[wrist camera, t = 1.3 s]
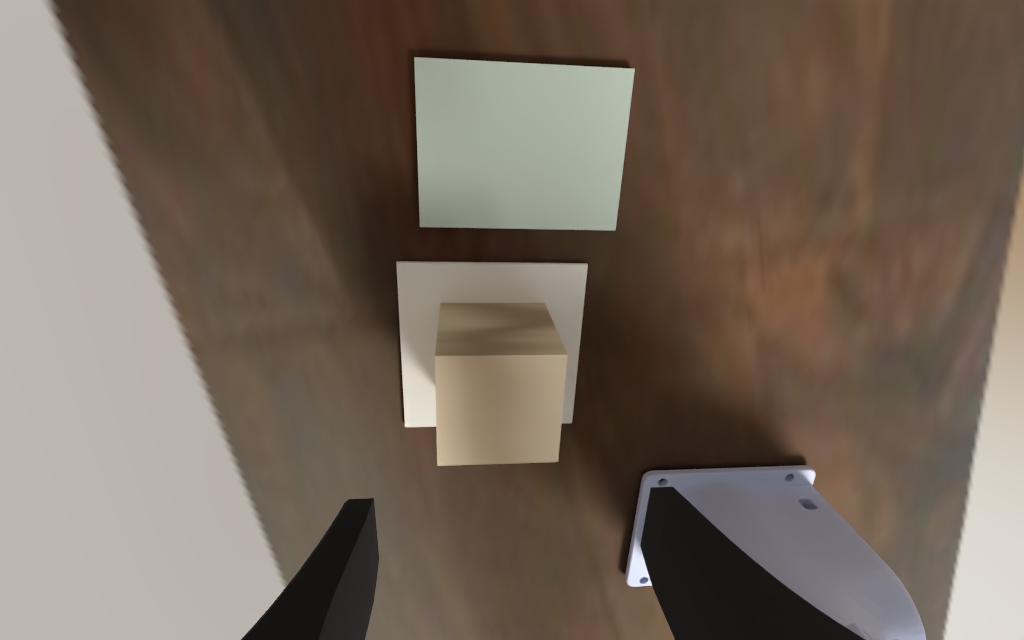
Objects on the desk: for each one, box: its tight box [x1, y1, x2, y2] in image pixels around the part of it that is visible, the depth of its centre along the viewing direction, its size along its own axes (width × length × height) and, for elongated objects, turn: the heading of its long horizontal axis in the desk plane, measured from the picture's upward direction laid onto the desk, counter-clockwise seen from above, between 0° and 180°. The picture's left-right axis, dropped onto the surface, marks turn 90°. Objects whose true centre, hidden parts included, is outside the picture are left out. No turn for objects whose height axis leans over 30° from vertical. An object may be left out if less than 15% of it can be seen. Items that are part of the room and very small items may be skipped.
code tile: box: [396, 261, 588, 427], centre depth 22 cm, size 8×8×1 cm
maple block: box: [435, 303, 568, 466], centre depth 20 cm, size 4×4×5 cm
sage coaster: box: [414, 57, 635, 230], centre depth 19 cm, size 8×6×1 cm
